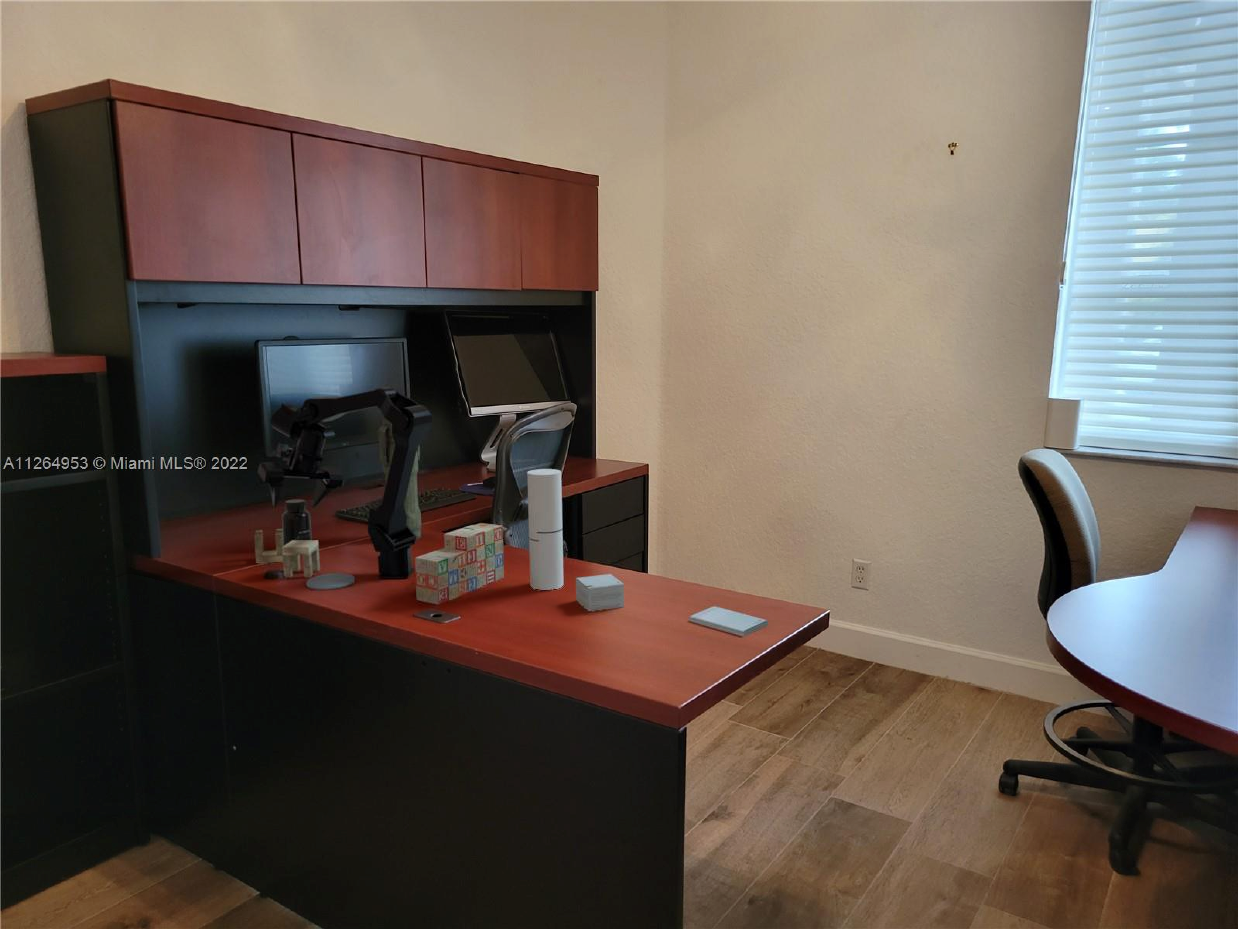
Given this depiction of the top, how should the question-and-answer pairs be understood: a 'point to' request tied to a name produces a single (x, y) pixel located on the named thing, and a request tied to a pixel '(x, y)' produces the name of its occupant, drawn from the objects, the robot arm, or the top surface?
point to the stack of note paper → (600, 592)
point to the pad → (330, 581)
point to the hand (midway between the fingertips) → (293, 506)
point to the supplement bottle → (296, 521)
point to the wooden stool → (292, 557)
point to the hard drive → (728, 621)
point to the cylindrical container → (545, 529)
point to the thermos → (412, 495)
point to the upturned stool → (272, 554)
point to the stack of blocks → (461, 563)
